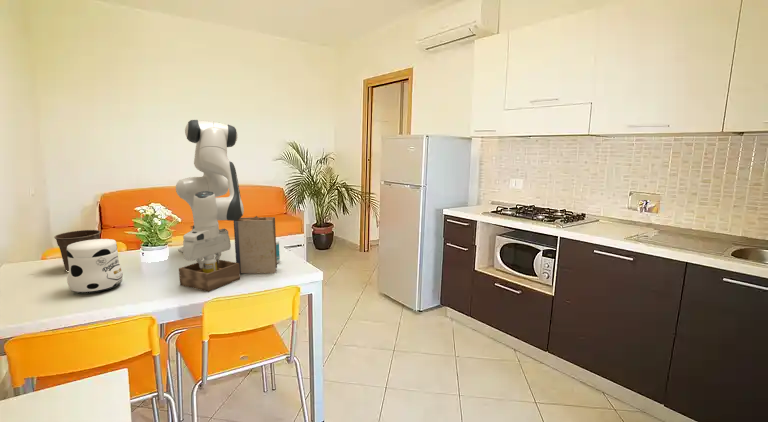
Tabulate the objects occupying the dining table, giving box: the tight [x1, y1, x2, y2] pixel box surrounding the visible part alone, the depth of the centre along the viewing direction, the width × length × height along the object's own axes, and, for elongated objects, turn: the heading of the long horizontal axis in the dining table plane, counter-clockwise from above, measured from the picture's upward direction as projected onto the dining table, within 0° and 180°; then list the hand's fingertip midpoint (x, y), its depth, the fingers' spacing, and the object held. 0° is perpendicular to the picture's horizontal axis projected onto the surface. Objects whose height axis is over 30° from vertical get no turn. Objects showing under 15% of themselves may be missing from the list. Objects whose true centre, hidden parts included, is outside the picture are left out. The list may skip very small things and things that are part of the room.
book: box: [233, 215, 278, 274], centre depth 174 cm, size 17×7×25 cm, turn 98°
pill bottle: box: [276, 238, 281, 264], centre depth 188 cm, size 8×7×14 cm
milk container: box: [66, 238, 124, 294], centre depth 153 cm, size 17×17×18 cm
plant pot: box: [53, 229, 102, 271], centre depth 176 cm, size 16×16×16 cm
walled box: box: [178, 259, 241, 293], centre depth 162 cm, size 16×16×7 cm
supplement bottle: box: [202, 254, 217, 273], centre depth 161 cm, size 5×5×10 cm
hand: (209, 265), depth 161 cm, fingers open, 5 cm apart
